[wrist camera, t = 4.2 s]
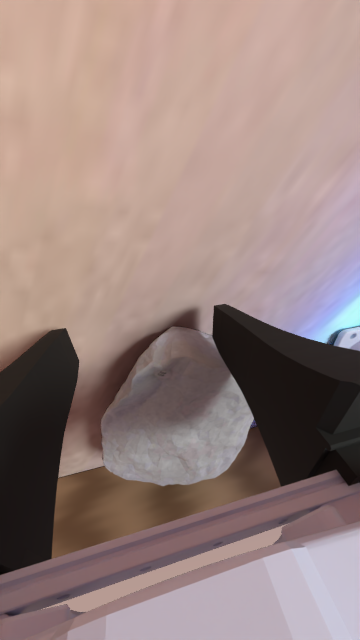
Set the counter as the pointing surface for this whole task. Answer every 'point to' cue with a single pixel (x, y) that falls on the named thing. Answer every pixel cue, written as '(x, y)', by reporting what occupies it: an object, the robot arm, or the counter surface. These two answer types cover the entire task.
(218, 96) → the counter surface
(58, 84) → the counter surface
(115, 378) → the counter surface
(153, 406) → the stone block
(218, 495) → the walnut wall
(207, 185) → the counter surface
